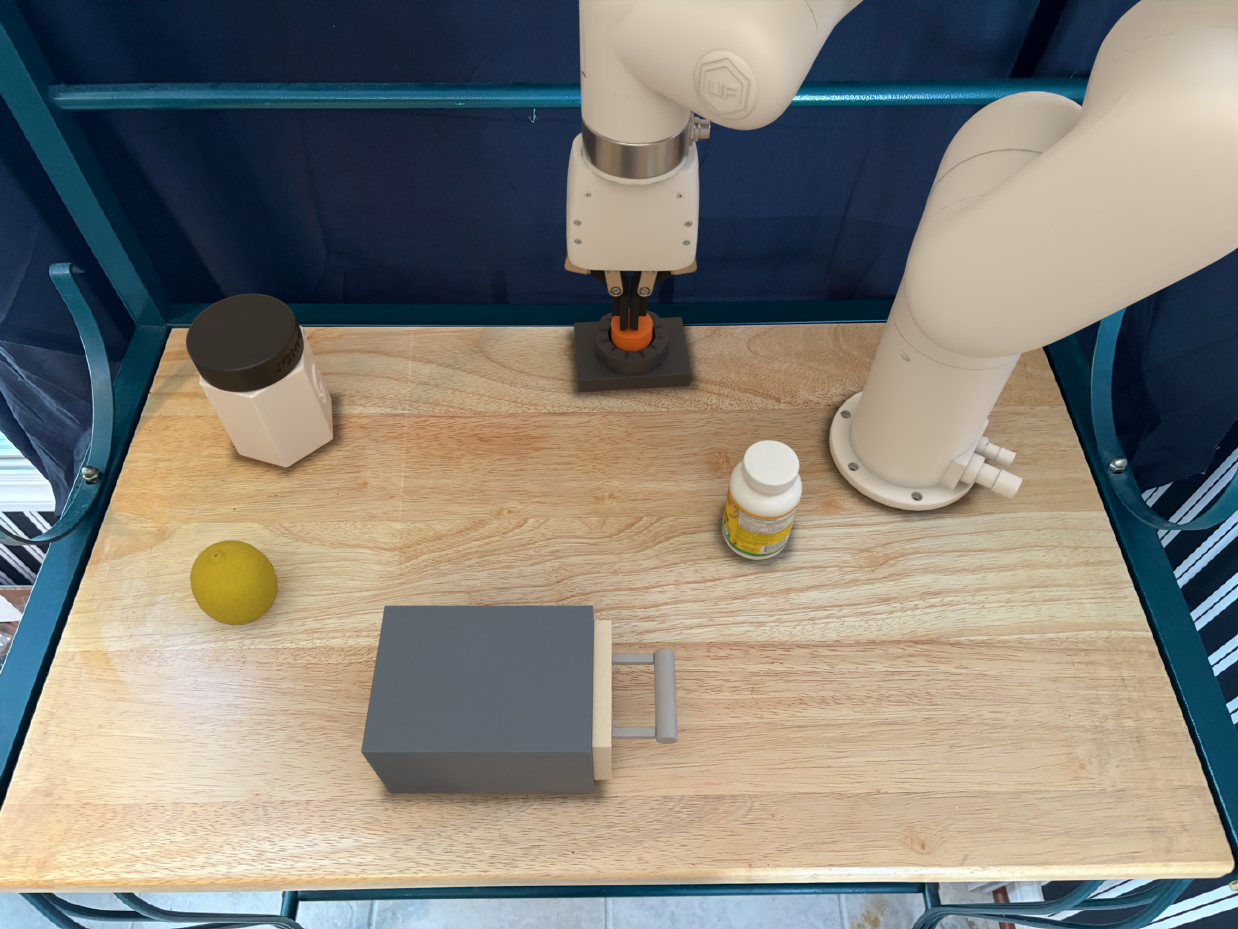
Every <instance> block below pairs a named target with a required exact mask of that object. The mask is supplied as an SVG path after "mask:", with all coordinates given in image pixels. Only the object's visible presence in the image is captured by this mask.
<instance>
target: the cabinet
mask: <svg viewBox="0 0 1238 929" xmlns="http://www.w3.org/2000/svg"><path fill="white" fill-rule="evenodd" d="M594 613H595V612H594V605H384V609H383V612H382V620H381V627H380V632H379V637H378V638H379V639H378V644H377V651H376V656H375V662H374V669H373V674H372V682H371V687H370V694H369V699H368V700H369V701H368V707H367V712H366V719H365V725H364V732H363V736H362V737H363V738H362V743H361V749H360V752H361V754H362V755H363V757H364V759H365V761H367V763H368V764H369V766H370V767H371V769H372V770H373V771H374V773H375V774H376V775H377V777H378V778H379V780H380V781H381V783H382V784H383V785H384V787H385V788H386V790H387V792H388V793H389V794H594V793H595V780H594V777H593V761H592V685H593V621H594V620H595V616H594V615H595V614H594Z"/></svg>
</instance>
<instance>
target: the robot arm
mask: <svg viewBox="0 0 1238 929" xmlns="http://www.w3.org/2000/svg"><path fill="white" fill-rule="evenodd" d="M863 1H864V0H578V11H579V12H578V13H579V14H578V16H579V17H578V19H579V61H580V62H579V64H580V66H579V67H580V108H581V109H580V111H581V112H580V113H581V116H580V117H581V118H580V119H581V132H580V133H578V134H577V135H576V136H575V138H574V139H573V141H572V145H571V150H570V155H569V160H568V167H567V178H566V180H567V181H566V208H565V209H566V210H565V211H566V212H565V213H566V230H565V231H566V232H565V233H566V237H565V238H566V251H565V254H564V266H563V267H564V269H565V270H566V271H568V272H571V273H577V274H583V275H588V274H589V275H590V276H591V277H592V278H593V279H595V280H596V281H597V282H599V283H600V284H602V285H603V286H604V287H605V288H606V289H607V292H608V294H609V295H610V296H611V312H612V316H620V331H626V329H628V315H629V308H630V329H632V331H638V322H639V316H647V310H648V297H649V296H651V295H652V293H653V290H654V288H656V287H657V286H659V285H660V284H662V283H663V282H664V281H665V280H668V278H670V277H671V276H672V275H674V276H678V275H685V274H690V273H694V272H696V271H697V269H698V260H697V255H696V254H697V245H698V235H699V234H698V233H699V231H698V229H699V213H700V212H699V211H700V210H699V209H700V175H699V174H700V173H699V171H700V170H699V168H700V166H699V155H698V149H697V144H696V142H699V140H707V141H708V140H710V138H711V137H710V136H711V122H712V123H714V124H717V125H719V126H722V127H725V128H727V129H733V130H738V131H750V130H757V129H760V128H763V127H766V126H768V125H770V124H772V123H773V122H775V121H776V120H777V119H778V118H779V117H781V116H782V115H783V114H784V112H785V111H786V110H787V108H788V107H789V106H790V104H792V102H793V100H794V98H795V96H796V95H797V93H798V92H799V90H800V88H801V86H802V84H803V82H804V80H805V79H806V77H807V75H808V74H809V72H810V70H811V68H812V66H813V64H814V62H815V60H816V58H817V57H818V55H819V53H820V51H821V49H822V48H823V46H824V44H825V42H826V41H827V39H828V38H829V36H830V34H831V33H832V31H833V30H834V28H835V27H836V26H837V25H838V23H840V22H841V21H842V19H843V18H844V17H845V16H847V15H848V14H849V13H850V12H851V11H853V9H855V8H856V7H857V6H858V5H860V4H861V3H862V2H863ZM695 114H696V115H698V116H695ZM700 117H702V119H700ZM925 203H926V204H925V206H924V209H923V213H922V216H921V218H920V221H919V224H918V225H917V226H918V227H917V229H916V232H915V234H914V237H913V240H912V242H911V245H910V249H909V253H908V255H907V260H906V263H905V267H904V268H905V269H904V273H903V275H902V279H901V281H900V284H899V287H898V290H897V292H896V295H895V298H894V301H893V303H892V306H891V309H890V311H889V315H888V317H887V320H886V322H885V326H884V329H883V331H882V335H881V338H880V341H879V344H878V347H877V349H876V352H875V355H874V358H873V361H872V363H871V367H870V370H869V372H868V375H867V378H866V380H865V384H864V386H863V389H862V391H859V392H857V393H855V394H853V395H852V396H850V397H849V398H848V399H846V400H845V401H844V402H843V404H841V406H840V407H839V408H838V409H837V411H836V413H835V415H834V416H833V420H832V421H831V425H830V429H829V436H828V444H829V451H830V455H831V457H832V461H833V463H834V464H835V466H836V468H837V469H838V471H839V473H840V475H842V477H843V478H844V479H845V480H846V481H847V482H848V483H849V484H850V485H851V486H852V487H853V488H855V489H856V490H857V491H858V492H859V493H860V494H862V495H864V496H866V497H867V498H869V499H871V500H873V501H875V502H877V503H880V504H882V505H885V506H887V507H889V508H890V507H891V508H894V509H899V510H903V511H917V512H918V511H919V512H920V511H930V510H936V509H940V508H944V507H947V506H949V505H951V504H953V503H955V502H957V501H959V500H960V499H961V498H962V497H964V496H965V495H966V494H968V493H969V491H970V490H971V488H972V487H973V486H974V484H975V483H976V484H978V485H980V486H983V487H985V488H987V489H989V491H991V492H992V493H994V494H997V495H1000V496H1002V497H1004V498H1006V499H1008V500H1010V501H1012V500H1013V499H1014V498H1015V496H1016V494H1017V492H1018V491H1019V489H1020V487H1021V484H1022V482H1023V480H1024V478H1023V477H1021V476H1018V475H1015V474H1014V473H1012V472H1009V471H1007V470H1004V469H1003V468H1001V469H1000V468H997V467H995V466H993V465H991V464H988V463H986V462H985V460H986V459H989V460H990V461H992V462H993V463H995V464H998V465H1000V466H1001V467H1004V468H1006V469H1009V468H1010V467H1011V465H1012V464H1013V462H1014V460H1015V458H1016V456H1017V453H1016V452H1014V451H1012V450H1009V449H1008V448H1005V447H1003V446H999V445H996V444H994V443H992V442H990V441H989V440H990V438H989V437H987V436H984V432H985V430H986V428H987V427H988V424H989V422H990V420H989V419H988V417H989V415H990V414H991V412H992V410H993V408H994V406H995V404H996V402H997V400H998V399H999V397H1000V395H1001V393H1002V391H1003V390H1004V387H1005V386H1006V383H1007V382H1008V380H1009V378H1010V377H1011V375H1012V373H1013V371H1014V369H1015V367H1016V365H1017V363H1018V362H1019V359H1020V358H1021V356H1022V354H1024V353H1028V352H1031V351H1035V350H1038V349H1040V348H1043V347H1046V346H1048V345H1050V344H1053V343H1055V342H1059V340H1062V339H1065V338H1066V337H1068V336H1071V335H1073V334H1075V333H1076V332H1079V331H1080V330H1083V329H1084V328H1086V327H1089V326H1091V325H1093V324H1095V323H1097V322H1099V321H1101V320H1103V319H1105V318H1107V317H1109V316H1111V315H1113V314H1115V313H1117V312H1119V311H1121V310H1123V309H1125V308H1128V307H1129V306H1131V305H1133V304H1135V303H1137V302H1140V301H1141V300H1143V299H1145V298H1147V297H1149V296H1151V295H1153V294H1155V293H1157V292H1159V291H1161V290H1163V289H1166V288H1167V287H1169V286H1172V285H1173V284H1175V283H1177V282H1179V281H1181V280H1183V279H1185V278H1187V277H1189V276H1191V275H1193V274H1195V273H1197V272H1198V271H1200V270H1202V269H1204V268H1207V267H1208V266H1209V265H1212V264H1213V263H1215V262H1217V261H1219V260H1221V259H1222V258H1224V257H1225V256H1227V255H1229V254H1231V253H1232V252H1233V251H1235V250H1236V249H1238V0H1140V1H1138V2H1136V3H1135V4H1134V5H1133V6H1132V7H1131V8H1130V9H1129V10H1127V11H1126V12H1125V13H1124V14H1123V15H1122V16H1121V17H1120V18H1119V19H1118V20H1117V22H1115V24H1114V25H1113V26H1112V28H1111V29H1110V30H1109V32H1108V34H1107V35H1106V36H1105V37H1104V39H1103V41H1102V43H1101V45H1100V47H1099V50H1098V52H1097V55H1096V56H1095V60H1094V63H1093V66H1092V68H1091V71H1090V75H1089V79H1088V81H1087V86H1086V90H1085V94H1084V97H1083V102H1082V105H1080V104H1078V103H1077V102H1076V101H1074V100H1072V99H1070V98H1068V97H1066V96H1064V95H1061V94H1058V93H1053V92H1048V91H1038V90H1037V91H1036V90H1035V91H1032V90H1031V91H1023V92H1022V91H1021V92H1017V93H1013V94H1009V95H1006V96H1004V97H1001V98H998V99H997V100H995V101H993V102H991V103H989V104H987V105H985V106H984V107H983V108H981V109H980V110H978V111H977V112H976V113H974V114H973V115H972V116H971V117H970V118H969V119H968V120H967V121H966V122H964V124H963V125H962V126H961V128H960V129H958V130H957V133H956V134H955V135H954V137H953V138H952V139H951V141H950V143H949V144H948V146H947V148H946V150H945V152H944V154H943V157H942V159H941V161H940V164H939V167H938V170H937V172H936V175H935V178H934V180H933V184H932V186H931V188H930V191H929V195H928V196H927V199H926V202H925ZM629 271H630V272H631V271H632V275H629V274H628V273H627V272H629ZM627 274H628V275H627Z"/></svg>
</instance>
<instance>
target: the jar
mask: <svg viewBox="0 0 1238 929" xmlns="http://www.w3.org/2000/svg"><path fill="white" fill-rule="evenodd" d="M185 346H186V351H187V354H188V356H189V358H190V359H191V361H192V363H193V364H194V366H195V368H196V370H197V372H198V373H199V379H198V385H199V387H200V388H201V390H202V392H203V393H204V395H205V397H206V399H207V401H208V402H209V404H210V407H212V409H213V411H214V413H215V415H216V416H217V419H218V420H219V421H220V423H221V425H222V428H224V431H225V432H226V434H227V435H228V437H229V439H230V441H231V443H232V444H233V446H234V448H235V450H236V451H237V453H238V455H240V456H242V457H245V458H249V459H252V460H257V461H260V462H263V463H268V464H271V465H275V466H278V467H281V468H286V469H287V468H289V467H291V466H293V465H294V464H296V463H297V462H299V461H301V460H303V459H304V458H306V457H307V456H309V455H310V454H312V453H313V452H315V451H316V450H319V449H320V448H321V447H323V446H325V445H327V444H328V443H330V442H331V441H332V440H334V426H333V425H334V424H333V423H334V422H333V404H332V402H333V401H332V397H331V395H330V393H329V390H328V388H327V385H326V383H325V380H324V377H323V375H322V372H321V370H320V368H319V365H318V362H317V360H316V357H315V354H314V351H313V349H312V347H311V344H310V342H309V340H308V337H307V334H306V332H305V329H304V327H303V326H302V325H300V324H299V322H298V319H297V317H296V316H295V314H294V312H293V311H292V309H291V308H290V307H289V306H288V305H287V304H286V303H285V302H284V301H282V300H280V299H278V298H276V297H274V296H272V295H267V294H262V293H244V294H237V295H233V296H229V297H226V298H224V299H221V300H219V301H216V302H214V303H212V304H211V305H209V306H208V307H206V308H205V309H204V310H202V311H201V312H200V313H199V314H197V316H196V317H195V318H194V320H193V321H192V323H191V324H190V325H189V328H188V330H187V333H186V337H185Z"/></svg>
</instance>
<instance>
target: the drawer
mask: <svg viewBox="0 0 1238 929" xmlns="http://www.w3.org/2000/svg"><path fill="white" fill-rule="evenodd" d="M612 637H613V621H612V619H594V621H593V685H592V761H593V777H594V781H611V780H612V779H613V774H612V773H613V770H612V768H613V760H612V759H613V740H655V741H656V743H658V744H661V745H672V744H675V743H677V742H678V740H679V736H678V735H679V734H678V731H679V730H678V710H677V708H678V706H677V686H676V684H677V683H676V660H675V658H676V657H675V651H674V650H673V649H671V648H659V649H656V650H654V652H653V653H613V638H612ZM613 666H653V686H654V687H653V689H654V690H653V691H654V726H655V727H654V726H653V727H651V726H650V727H649V726H648V727H647V726H646V727H645V726H642V727H641V726H640V727H639V726H635V727H633V726H629V727H627V726H626V727H625V726H624V727H623V726H622V727H619V726H615V727H614V726H613V706H612V705H613Z"/></svg>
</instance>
